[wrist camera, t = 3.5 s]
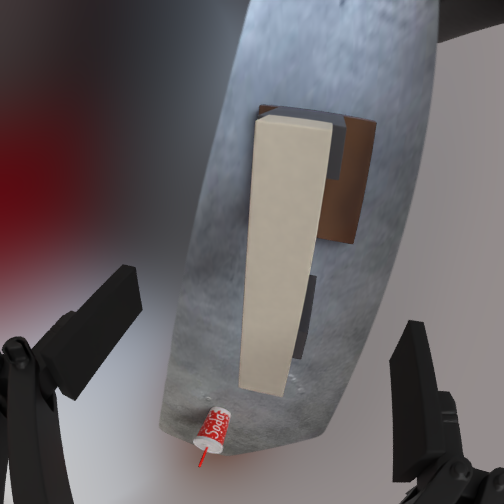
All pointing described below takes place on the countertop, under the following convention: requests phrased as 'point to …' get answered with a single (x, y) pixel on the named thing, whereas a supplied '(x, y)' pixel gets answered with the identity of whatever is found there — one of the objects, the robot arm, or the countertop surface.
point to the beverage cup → (213, 431)
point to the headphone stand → (345, 181)
